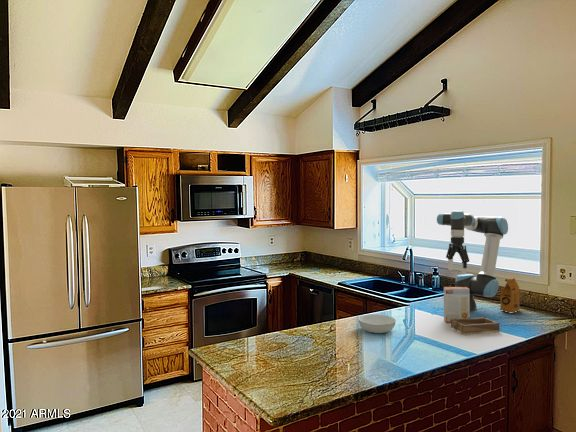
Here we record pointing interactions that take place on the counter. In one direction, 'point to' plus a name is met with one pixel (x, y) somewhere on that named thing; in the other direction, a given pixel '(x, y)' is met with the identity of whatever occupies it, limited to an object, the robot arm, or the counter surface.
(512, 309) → the coffee package
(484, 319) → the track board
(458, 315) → the cracker box
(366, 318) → the serving bowl
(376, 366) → the counter surface
